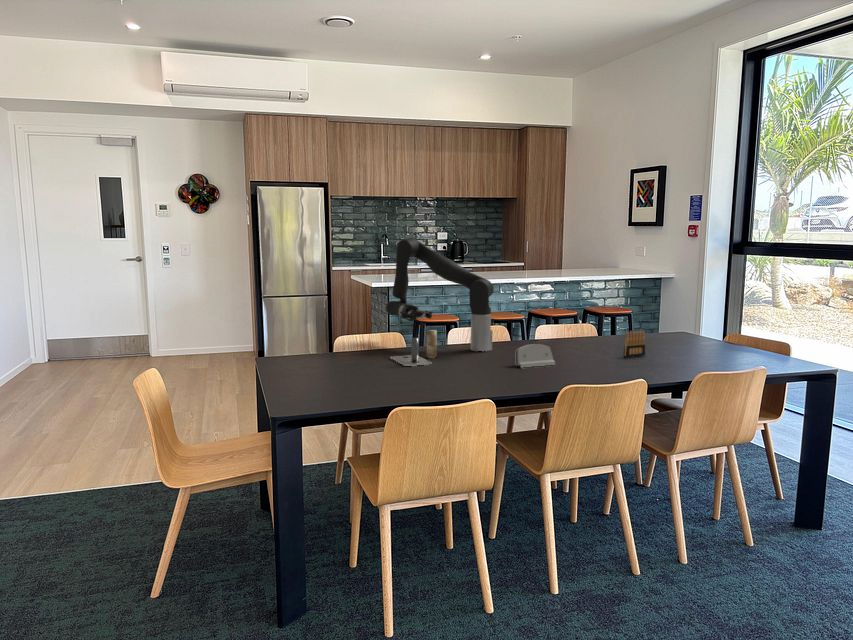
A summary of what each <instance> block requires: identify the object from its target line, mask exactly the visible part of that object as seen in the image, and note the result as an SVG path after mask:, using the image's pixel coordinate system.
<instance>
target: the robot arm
mask: <svg viewBox="0 0 853 640" xmlns="http://www.w3.org/2000/svg"><path fill="white" fill-rule="evenodd" d="M395 254H396V258H395V260H396V261H395V262H396V263H395V275H394V282H393V283H394V284H393V288H392V296H393V297H394V298H397V299H398V300H391V301H387V303H386V304H385V310H386V312H387V314H388V315H391V316H395V317H400V318H401V319H404V320H407V321H409V322H415V321H416V320H417V319H429V320H430V319H432V318H433V312H432V311H429V310H420V309H419V308H418V307H417V306H416V305H414V304H409V303H408V302H407V295H408V294H407V293H408V288H409V275H408V267H409V262H410V260H411V258H415V259H418V260H419V261H421V262H423V263H424V264H426V265H427V267H428V268H429V269H430V270H431V272H432V273H434V274H435V275H436V276H439V277H441V278H442V279H443V280H445V281H449V282H451V283H455V284H458V285H462V286H463V287H465V288H467V289H469V291H468V293H469V296H468V297H469V308H470V309H469V310H470V351H473V352H478V351H482V352H484V351H485V352H490V351H493V330H492V329H491V328H492V308H491V307H490V303H489V301H490V300H489V298H490V297H491V296H492V295H493V293H494V291H495V289H494V285H493V283H492V282H491V281H490V280H489V279H486V278H485V277H482V276H479V275H477V274H475V273H473V272H471V271H469V270H468V269H466V268H464V267H463V266H461V265H460V264H458V263H456V262H455V261H453V260H452V259H449V258H448V257H446V256H444V255H442V254H440V253H438V252H436V251H434V250H433V249H431V248H430V247H428V246H426V245H424V244H423V243H422V242H420V241H419V240H418V239H416V238H413V237H408V238H405V239H401V240H400V241H399V242H397V245H396V253H395Z"/></svg>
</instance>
